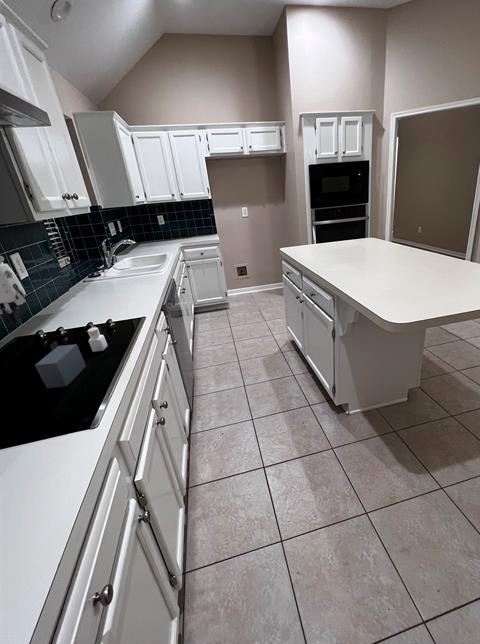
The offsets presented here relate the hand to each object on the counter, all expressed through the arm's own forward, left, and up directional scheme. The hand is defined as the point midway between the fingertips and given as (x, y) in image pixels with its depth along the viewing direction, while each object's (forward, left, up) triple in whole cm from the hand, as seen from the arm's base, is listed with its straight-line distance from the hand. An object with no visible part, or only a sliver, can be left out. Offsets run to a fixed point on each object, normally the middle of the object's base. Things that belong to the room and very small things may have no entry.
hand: (15, 324), depth 91 cm
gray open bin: (+8, 0, -21) cm, 22 cm away
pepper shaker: (+9, +17, -21) cm, 29 cm away
